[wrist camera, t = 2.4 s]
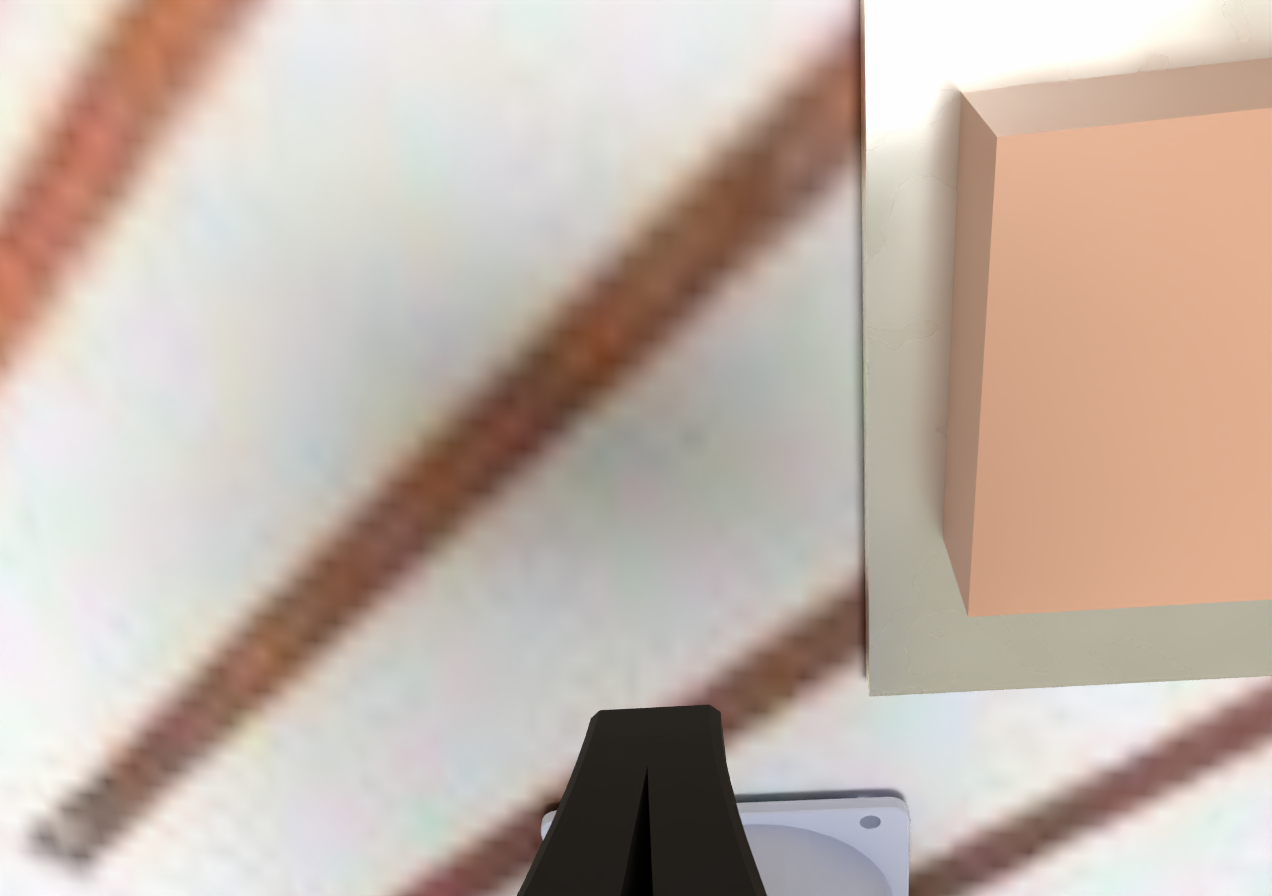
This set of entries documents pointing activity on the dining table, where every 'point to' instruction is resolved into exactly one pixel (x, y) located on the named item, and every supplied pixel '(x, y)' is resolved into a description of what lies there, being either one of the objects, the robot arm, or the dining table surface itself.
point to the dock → (921, 340)
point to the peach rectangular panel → (1113, 343)
